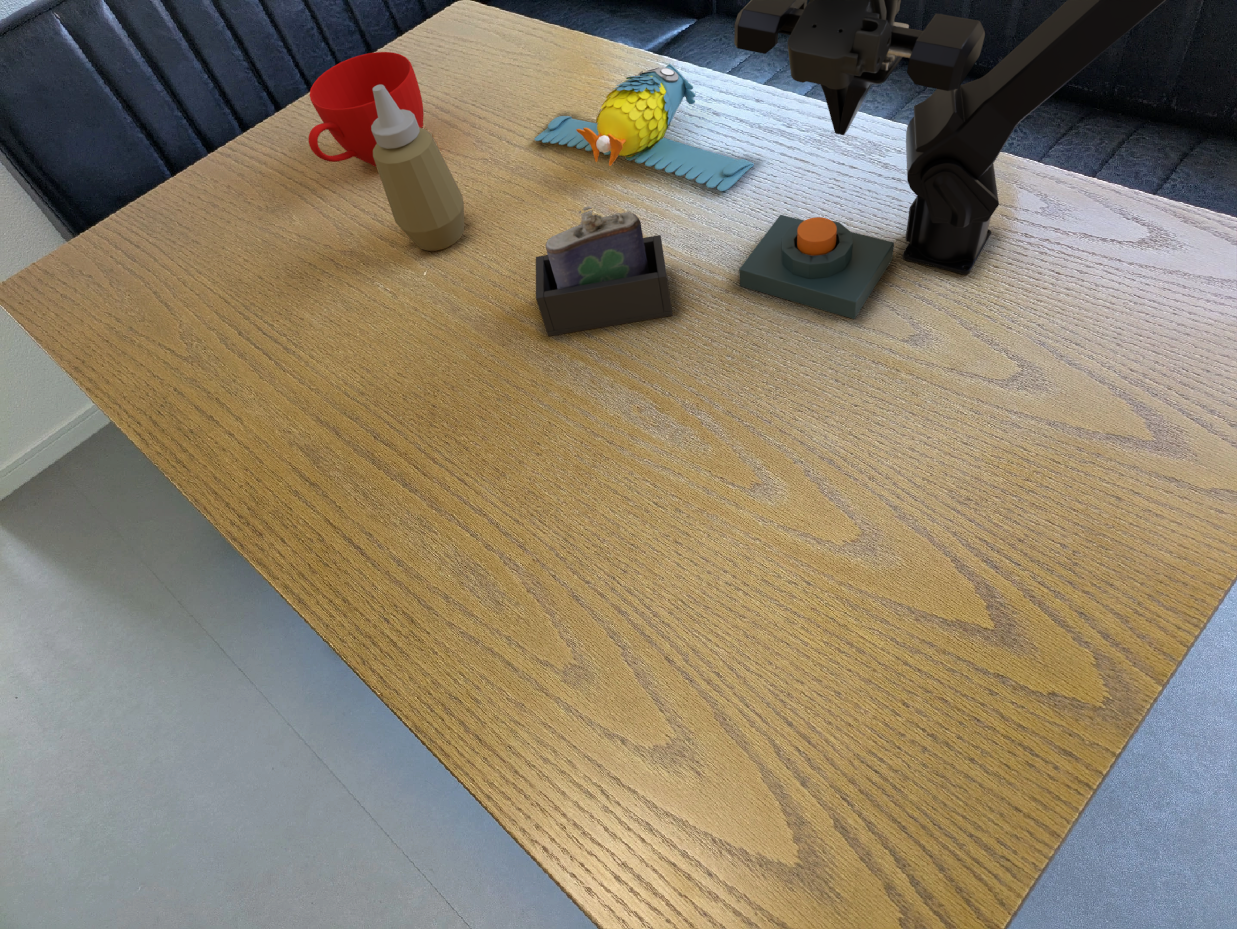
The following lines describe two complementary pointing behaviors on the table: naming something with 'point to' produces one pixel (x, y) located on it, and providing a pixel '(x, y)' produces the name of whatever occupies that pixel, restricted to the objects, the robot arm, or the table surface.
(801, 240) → the button
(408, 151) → the squeeze bottle
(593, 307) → the box
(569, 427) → the table surface
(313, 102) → the ceramic cup
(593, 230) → the flask
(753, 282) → the panel
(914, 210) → the robot arm
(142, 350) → the table surface
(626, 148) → the owl figurine
